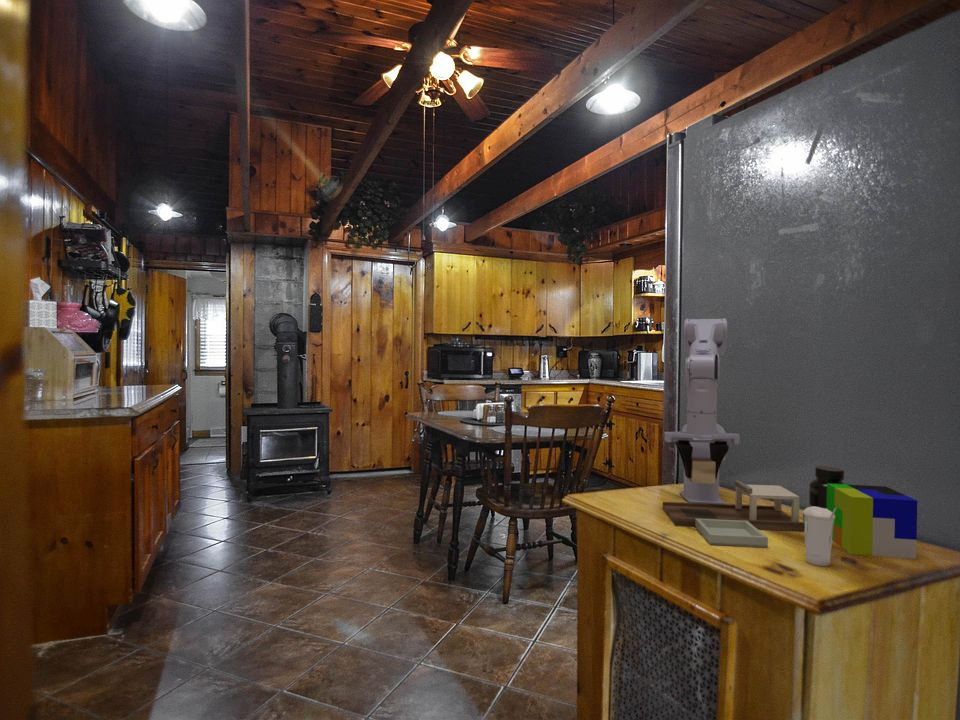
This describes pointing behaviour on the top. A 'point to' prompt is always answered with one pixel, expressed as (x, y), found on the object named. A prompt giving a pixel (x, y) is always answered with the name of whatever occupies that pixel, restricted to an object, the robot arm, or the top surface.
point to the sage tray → (731, 533)
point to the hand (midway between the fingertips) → (700, 477)
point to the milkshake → (818, 534)
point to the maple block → (702, 470)
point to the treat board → (730, 515)
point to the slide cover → (765, 492)
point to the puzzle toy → (873, 520)
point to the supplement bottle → (823, 484)
